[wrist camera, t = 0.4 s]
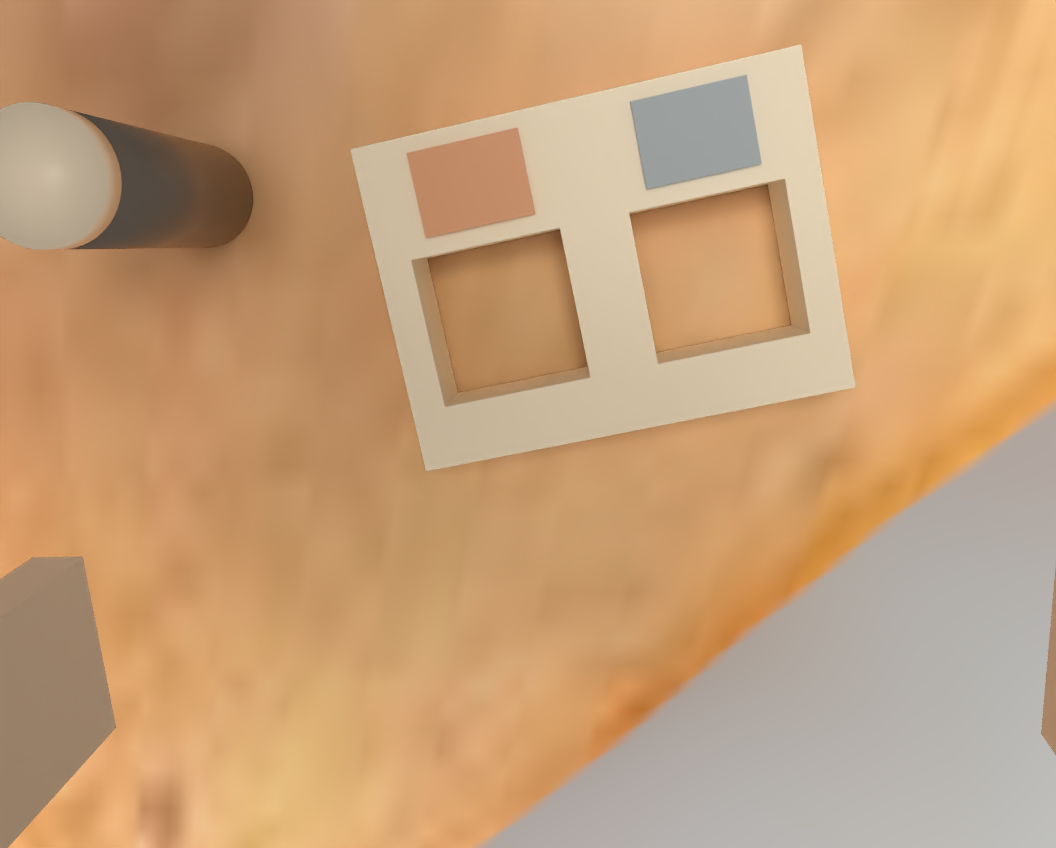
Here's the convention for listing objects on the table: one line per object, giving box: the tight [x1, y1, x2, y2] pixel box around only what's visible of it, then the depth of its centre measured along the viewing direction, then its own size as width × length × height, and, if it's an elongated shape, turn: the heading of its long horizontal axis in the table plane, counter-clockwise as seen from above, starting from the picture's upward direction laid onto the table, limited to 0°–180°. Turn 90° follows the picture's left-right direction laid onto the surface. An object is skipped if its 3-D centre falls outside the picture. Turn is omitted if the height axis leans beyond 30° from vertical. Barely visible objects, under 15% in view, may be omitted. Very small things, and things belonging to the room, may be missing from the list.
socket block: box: [350, 45, 856, 471], centre depth 37 cm, size 12×16×4 cm
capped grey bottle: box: [0, 102, 253, 250], centre depth 33 cm, size 4×4×12 cm
